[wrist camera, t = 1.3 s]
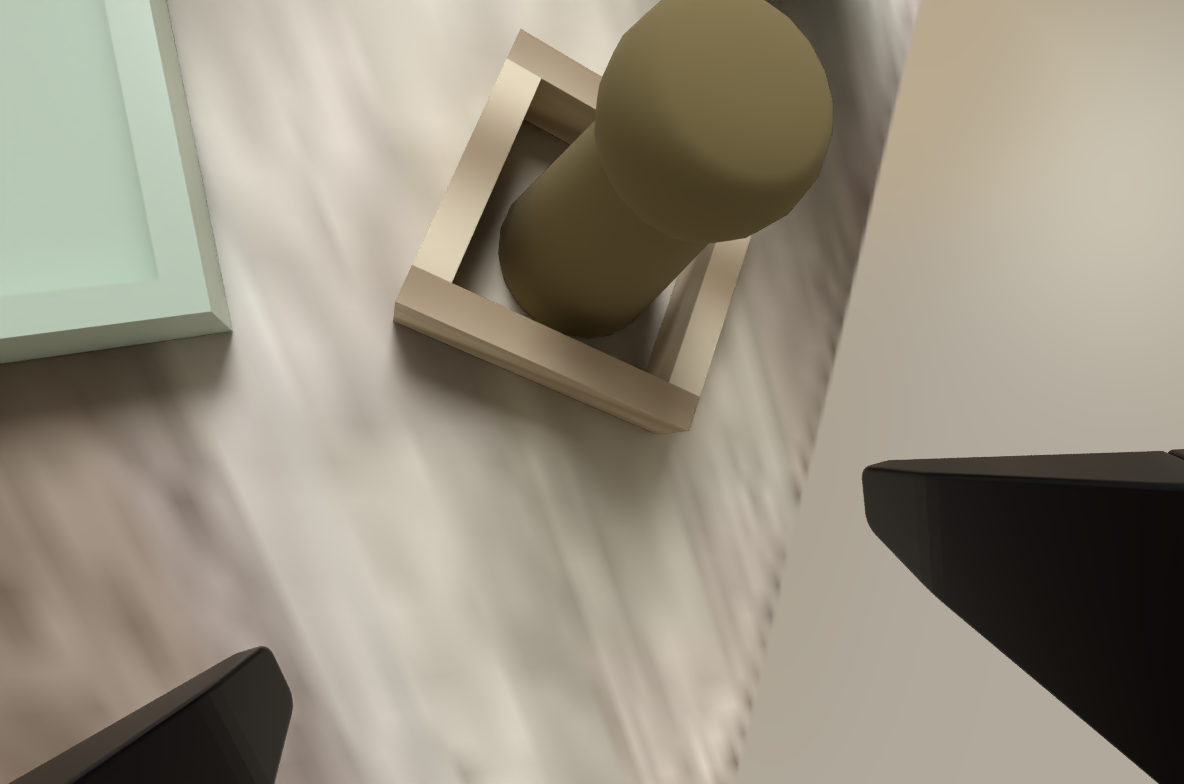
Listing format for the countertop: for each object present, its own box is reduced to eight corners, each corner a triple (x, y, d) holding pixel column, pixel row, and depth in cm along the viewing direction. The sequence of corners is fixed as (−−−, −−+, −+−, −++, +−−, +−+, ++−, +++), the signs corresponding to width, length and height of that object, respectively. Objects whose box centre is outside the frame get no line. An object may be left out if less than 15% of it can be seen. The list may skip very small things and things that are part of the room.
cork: (639, 358, 23) (860, 269, 12) (478, 308, 21) (580, 154, 10) (671, 210, 24) (898, 14, 13) (521, 150, 22) (650, -128, 12)
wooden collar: (656, 434, 22) (689, 430, 20) (392, 320, 20) (395, 301, 17) (732, 204, 25) (770, 176, 22) (505, 75, 22) (520, 28, 20)
